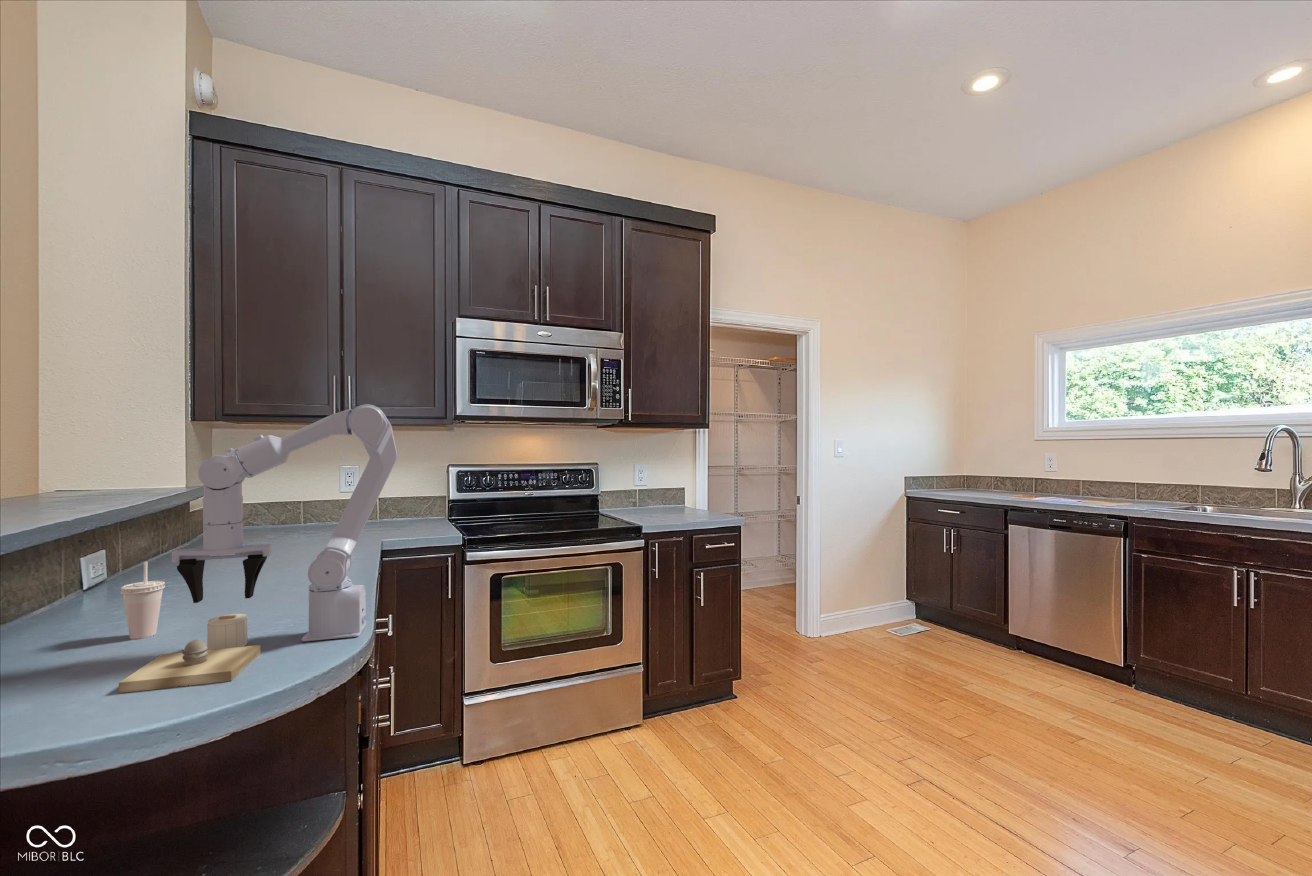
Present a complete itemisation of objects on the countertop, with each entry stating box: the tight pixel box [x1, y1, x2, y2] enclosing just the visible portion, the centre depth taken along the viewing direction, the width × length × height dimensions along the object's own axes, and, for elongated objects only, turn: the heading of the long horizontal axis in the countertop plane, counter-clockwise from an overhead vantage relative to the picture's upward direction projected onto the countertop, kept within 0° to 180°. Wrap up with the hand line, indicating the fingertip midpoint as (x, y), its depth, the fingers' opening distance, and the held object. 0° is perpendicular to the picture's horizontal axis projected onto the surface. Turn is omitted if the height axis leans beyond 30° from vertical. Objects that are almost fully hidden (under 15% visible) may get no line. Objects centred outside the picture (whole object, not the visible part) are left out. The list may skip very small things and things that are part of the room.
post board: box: [118, 639, 262, 694], centre depth 92 cm, size 14×12×5 cm
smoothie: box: [119, 561, 166, 640], centre depth 109 cm, size 6×6×14 cm
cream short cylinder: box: [206, 613, 248, 650], centre depth 103 cm, size 6×6×5 cm
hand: (223, 599), depth 103 cm, fingers open, 7 cm apart
